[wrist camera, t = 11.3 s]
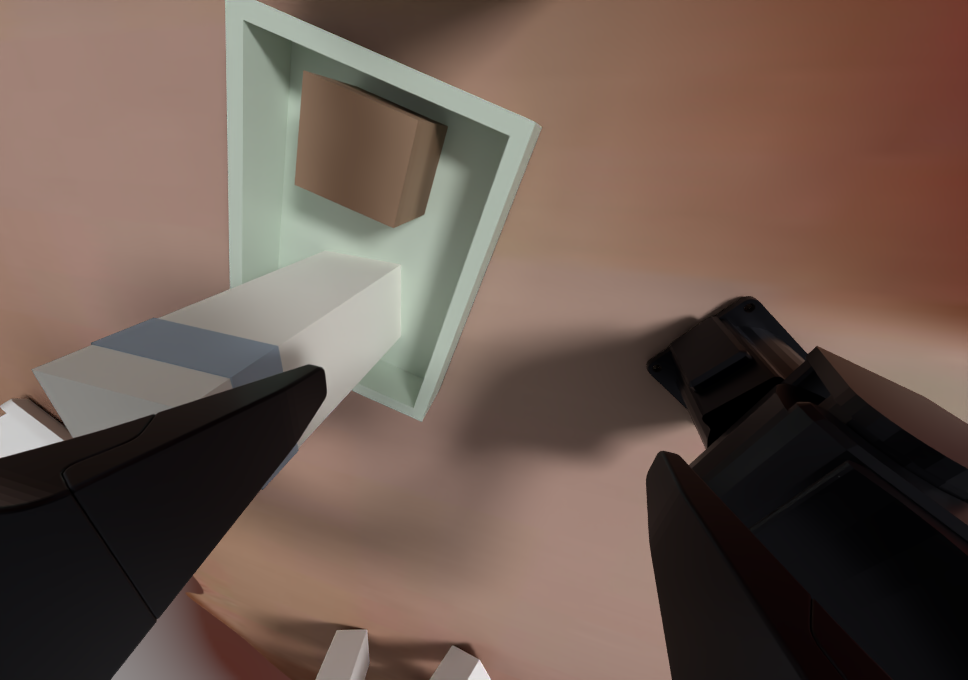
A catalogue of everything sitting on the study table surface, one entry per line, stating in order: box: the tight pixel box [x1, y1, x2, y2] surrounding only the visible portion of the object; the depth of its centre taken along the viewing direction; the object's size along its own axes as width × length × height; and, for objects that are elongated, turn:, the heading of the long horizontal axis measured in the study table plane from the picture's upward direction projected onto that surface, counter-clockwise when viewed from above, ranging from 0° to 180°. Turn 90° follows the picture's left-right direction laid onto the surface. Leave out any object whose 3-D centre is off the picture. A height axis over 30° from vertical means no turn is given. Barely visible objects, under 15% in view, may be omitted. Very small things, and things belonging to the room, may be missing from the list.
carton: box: [31, 250, 401, 490], centre depth 17 cm, size 5×5×14 cm
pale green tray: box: [225, 0, 542, 422], centre depth 20 cm, size 14×18×4 cm
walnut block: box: [294, 70, 448, 228], centre depth 17 cm, size 5×4×4 cm
